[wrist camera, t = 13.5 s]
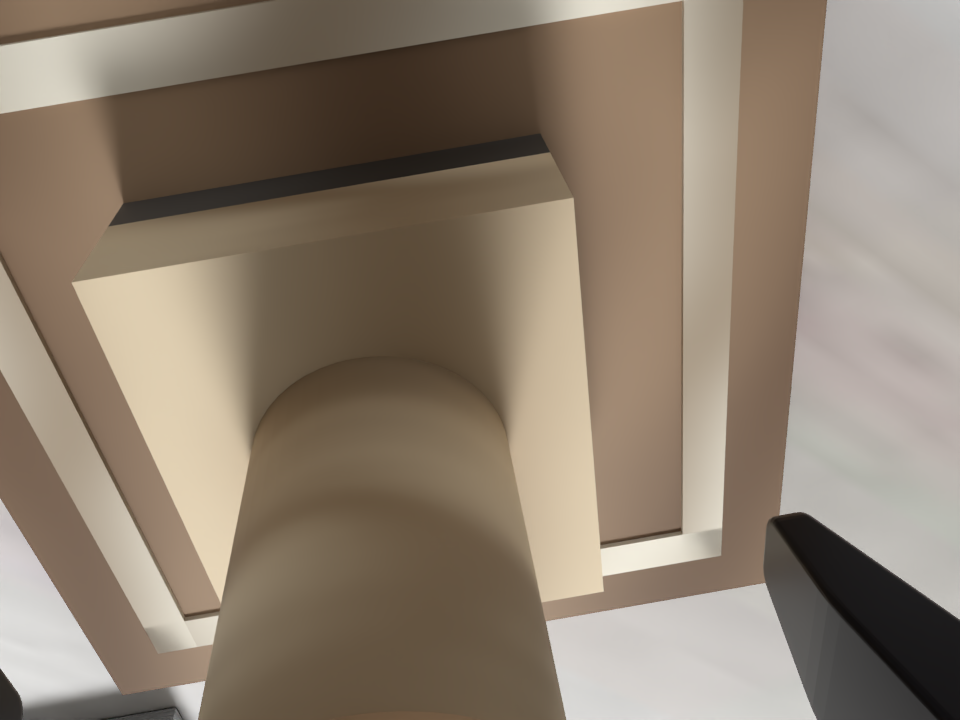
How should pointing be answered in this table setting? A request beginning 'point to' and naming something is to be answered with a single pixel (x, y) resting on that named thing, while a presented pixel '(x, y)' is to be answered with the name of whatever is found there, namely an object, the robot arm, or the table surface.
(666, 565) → the marked board
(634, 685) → the table surface
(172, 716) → the ink pad
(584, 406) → the wooden stamp
